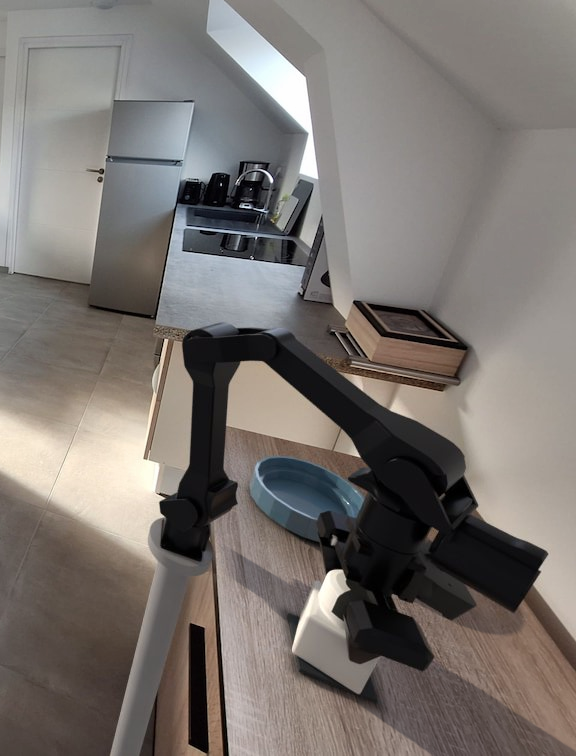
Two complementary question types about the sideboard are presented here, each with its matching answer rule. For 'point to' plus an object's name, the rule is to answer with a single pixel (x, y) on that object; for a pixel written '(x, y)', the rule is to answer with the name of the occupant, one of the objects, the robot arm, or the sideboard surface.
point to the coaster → (313, 672)
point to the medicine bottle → (331, 631)
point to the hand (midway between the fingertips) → (343, 625)
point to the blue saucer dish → (301, 493)
